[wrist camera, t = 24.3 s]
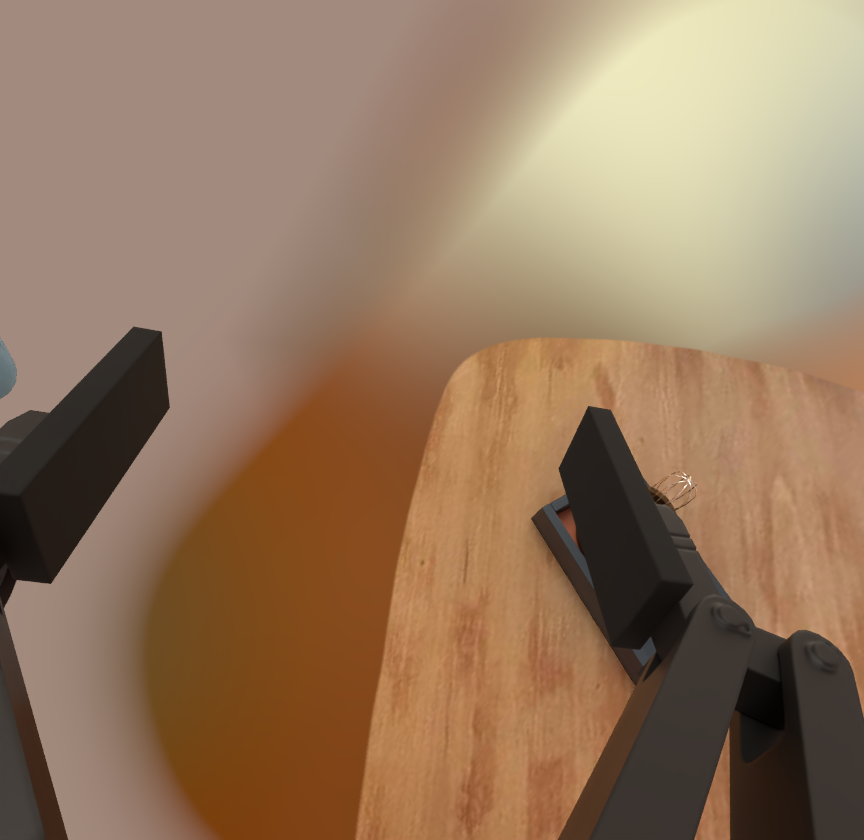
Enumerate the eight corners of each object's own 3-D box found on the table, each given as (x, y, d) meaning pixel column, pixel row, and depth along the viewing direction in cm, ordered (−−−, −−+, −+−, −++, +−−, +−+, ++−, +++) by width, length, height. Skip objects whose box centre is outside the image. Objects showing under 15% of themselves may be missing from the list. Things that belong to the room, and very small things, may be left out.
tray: (656, 720, 40) (680, 725, 36) (530, 518, 45) (541, 507, 42) (743, 656, 42) (772, 655, 39) (613, 471, 48) (629, 458, 45)
